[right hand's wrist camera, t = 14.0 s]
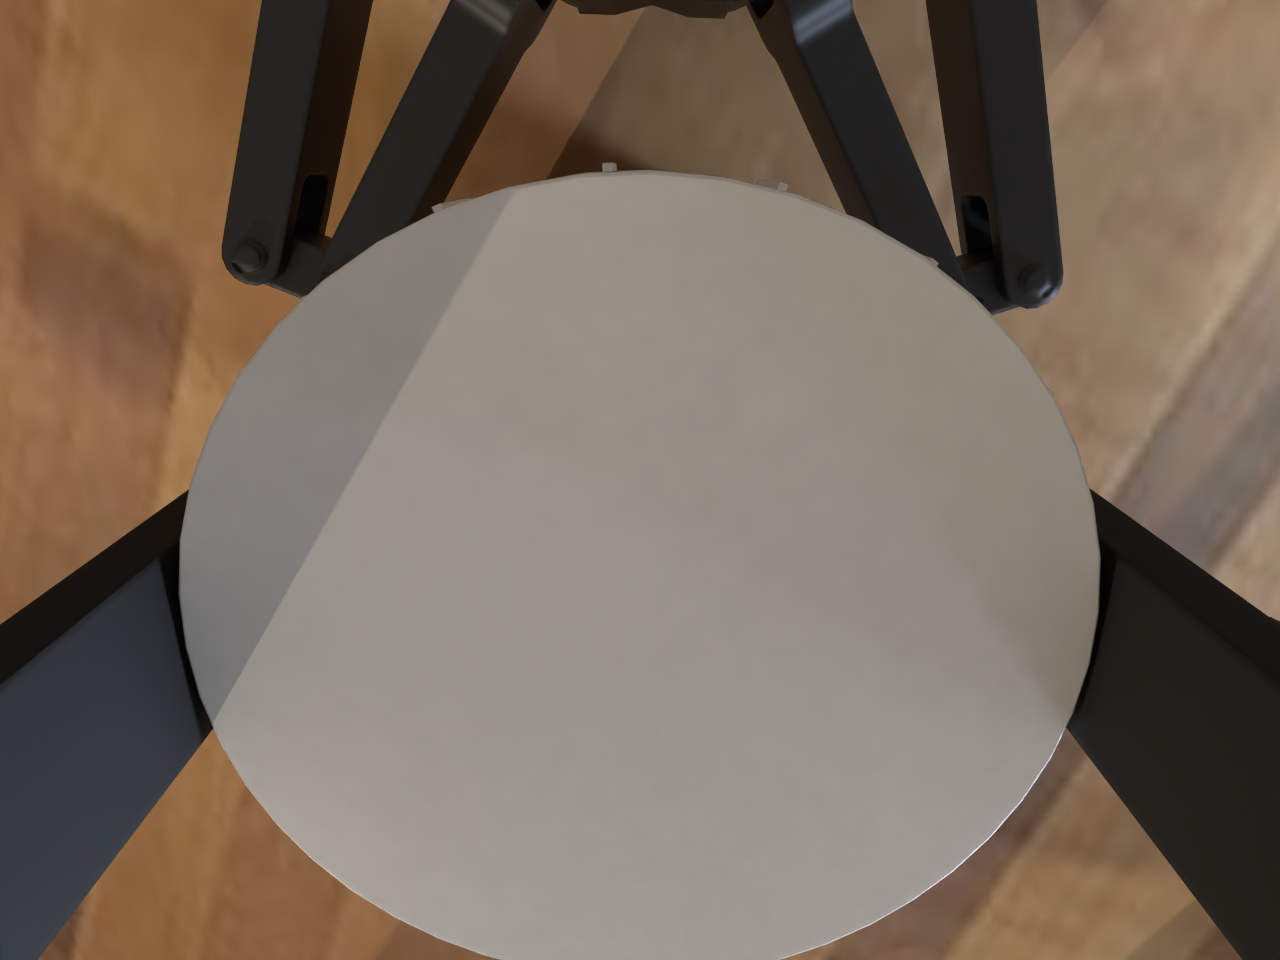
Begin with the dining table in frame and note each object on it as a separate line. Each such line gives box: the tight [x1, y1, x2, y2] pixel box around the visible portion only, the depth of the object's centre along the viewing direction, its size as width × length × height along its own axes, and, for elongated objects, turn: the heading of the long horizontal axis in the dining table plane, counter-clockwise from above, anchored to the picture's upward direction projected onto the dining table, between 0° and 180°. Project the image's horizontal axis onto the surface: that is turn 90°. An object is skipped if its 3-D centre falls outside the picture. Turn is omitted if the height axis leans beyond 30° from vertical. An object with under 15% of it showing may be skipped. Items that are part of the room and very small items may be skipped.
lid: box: [179, 163, 1101, 960], centre depth 11 cm, size 11×11×2 cm
